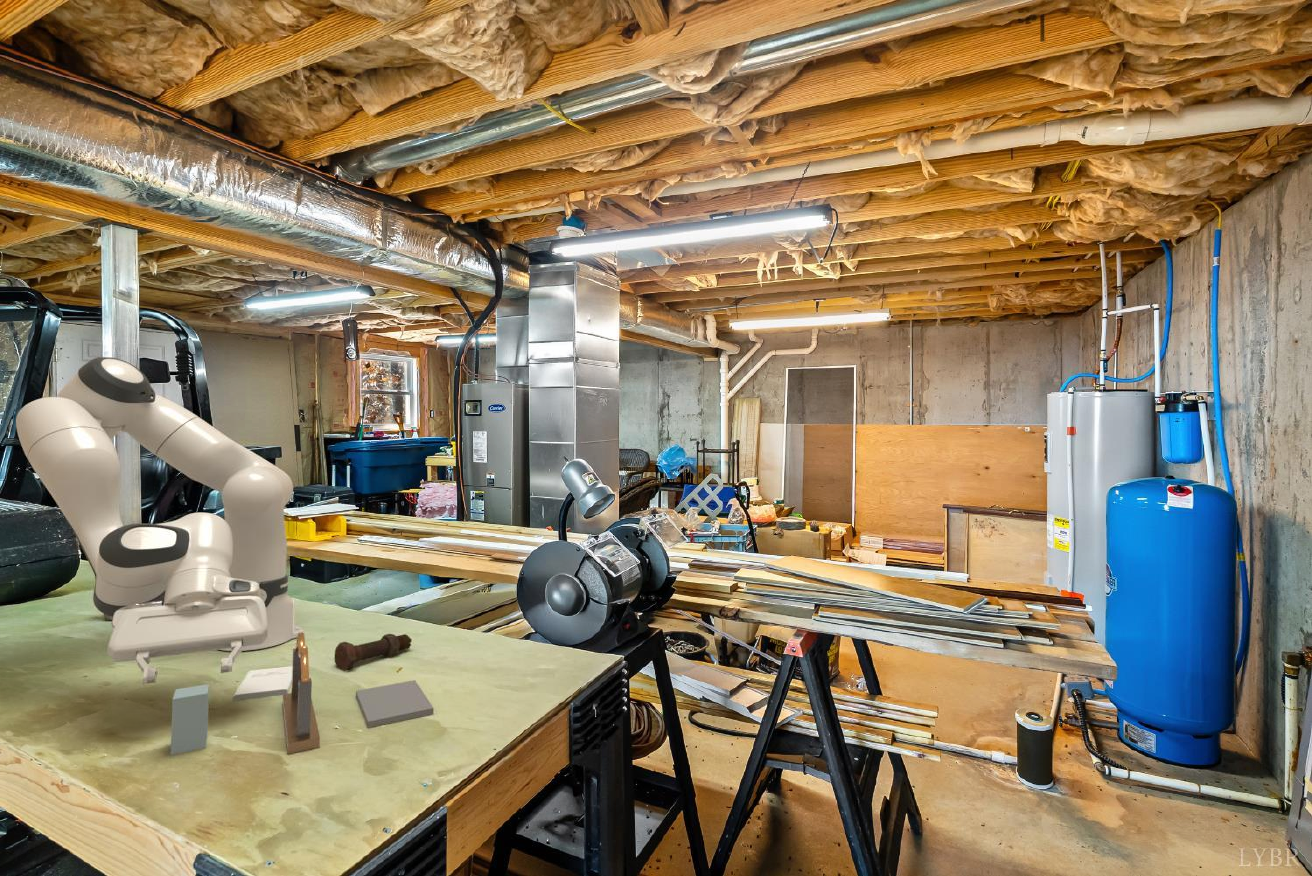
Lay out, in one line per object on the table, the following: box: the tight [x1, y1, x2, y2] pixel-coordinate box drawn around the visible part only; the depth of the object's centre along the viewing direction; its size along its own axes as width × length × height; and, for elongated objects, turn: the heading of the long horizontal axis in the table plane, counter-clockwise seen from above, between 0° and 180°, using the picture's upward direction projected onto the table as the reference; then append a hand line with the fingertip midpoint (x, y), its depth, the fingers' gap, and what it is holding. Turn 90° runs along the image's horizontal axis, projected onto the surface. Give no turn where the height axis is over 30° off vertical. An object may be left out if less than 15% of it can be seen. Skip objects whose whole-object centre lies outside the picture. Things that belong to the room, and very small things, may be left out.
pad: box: [355, 679, 434, 729], centre depth 104 cm, size 14×10×1 cm
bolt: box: [334, 633, 412, 672], centre depth 126 cm, size 6×5×15 cm
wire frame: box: [282, 631, 321, 755], centre depth 97 cm, size 20×4×14 cm, turn 34°
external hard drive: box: [232, 665, 292, 702], centre depth 112 cm, size 2×8×12 cm
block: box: [170, 683, 210, 756], centre depth 89 cm, size 4×4×8 cm
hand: (188, 676), depth 93 cm, fingers open, 8 cm apart
